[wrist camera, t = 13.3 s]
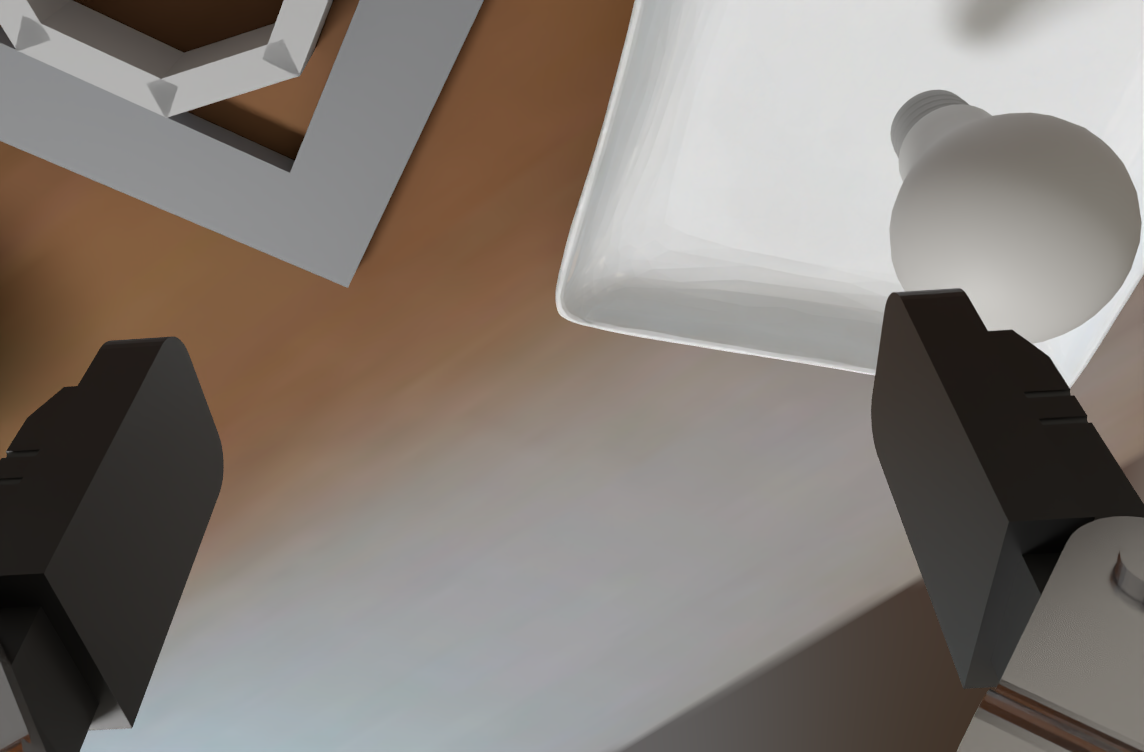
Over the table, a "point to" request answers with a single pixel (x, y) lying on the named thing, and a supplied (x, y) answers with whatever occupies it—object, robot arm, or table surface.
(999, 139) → the lightbulb
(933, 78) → the salad plate
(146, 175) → the bulb socket stand
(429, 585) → the table surface
